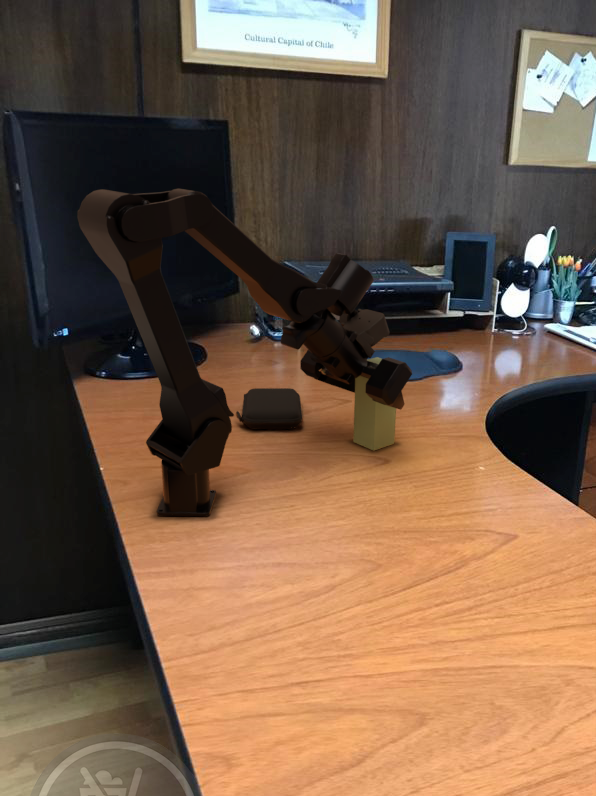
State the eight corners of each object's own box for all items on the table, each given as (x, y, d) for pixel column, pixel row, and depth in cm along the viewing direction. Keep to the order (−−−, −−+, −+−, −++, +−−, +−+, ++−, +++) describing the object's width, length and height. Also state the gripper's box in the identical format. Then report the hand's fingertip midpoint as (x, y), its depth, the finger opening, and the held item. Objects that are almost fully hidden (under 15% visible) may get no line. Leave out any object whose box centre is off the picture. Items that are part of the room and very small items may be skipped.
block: (373, 451, 118) (377, 369, 113) (353, 442, 121) (355, 362, 116) (394, 443, 121) (398, 363, 116) (374, 435, 124) (377, 357, 119)
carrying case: (238, 402, 136) (235, 432, 122) (238, 385, 135) (234, 414, 121) (299, 401, 137) (303, 432, 124) (299, 385, 136) (303, 414, 123)
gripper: (406, 306, 103) (453, 371, 115) (315, 284, 115) (366, 344, 127) (362, 374, 101) (414, 432, 112) (273, 343, 113) (329, 399, 124)
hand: (380, 398), depth 119 cm, fingers open, 9 cm apart
